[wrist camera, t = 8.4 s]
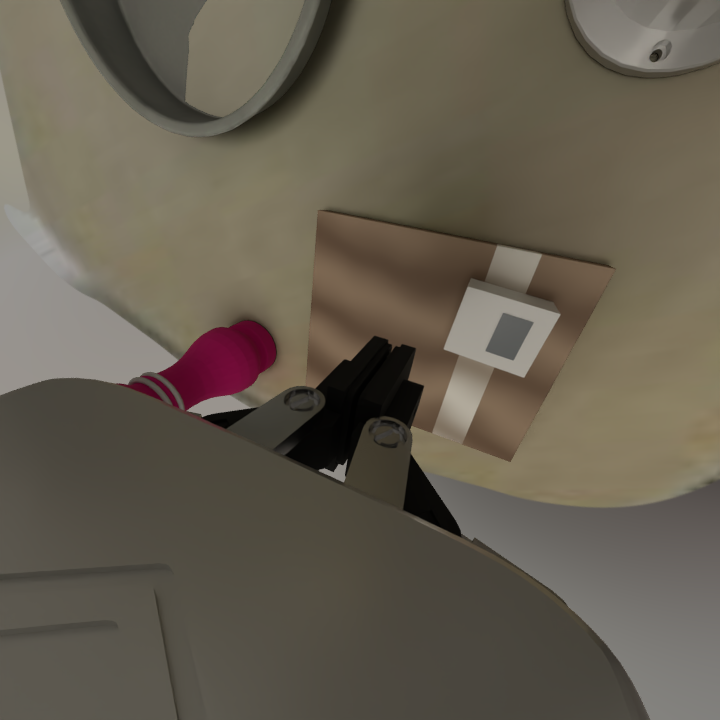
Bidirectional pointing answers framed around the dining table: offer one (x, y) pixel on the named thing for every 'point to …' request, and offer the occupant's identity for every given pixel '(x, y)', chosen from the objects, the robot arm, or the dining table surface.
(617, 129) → the dining table surface
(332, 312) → the brown flat board
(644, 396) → the dining table surface
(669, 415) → the dining table surface
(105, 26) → the cake pan
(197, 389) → the pepper mill
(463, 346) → the block
